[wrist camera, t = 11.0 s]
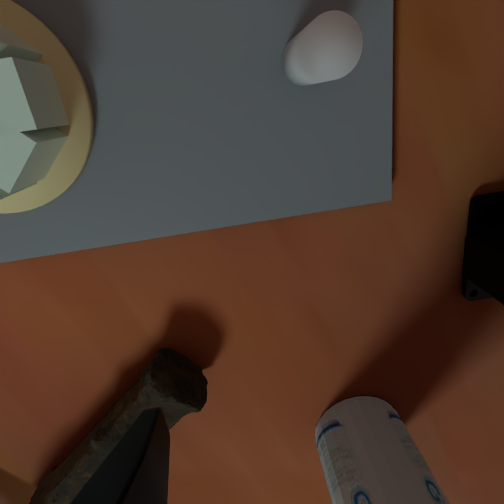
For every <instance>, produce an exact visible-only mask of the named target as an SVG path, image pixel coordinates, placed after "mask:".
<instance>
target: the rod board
mask: <svg viewBox="0 0 504 504" xmlns="http://www.w3.org/2000/svg"><path fill="white" fill-rule="evenodd" d="M0 24H2V25H3V26H4V27H6V28H7V29H8V30H10V31H11V32H13V33H14V34H15V35H17V36H18V37H20V38H21V39H22V40H24V41H25V42H27V43H28V44H29V45H31V46H32V47H34V48H35V49H36V50H38V51H39V52H40V53H42V56H41V58H40V60H39V62H38V63H42V64H46V65H51V67H52V70H53V74H54V77H55V80H56V83H57V86H58V89H59V93H60V96H61V99H62V102H63V105H64V108H65V112H66V115H67V118H68V121H69V124H70V125H64V126H57V127H56V128H58V129H59V130H61V131H62V132H64V133H65V134H67V135H68V138H67V140H66V142H65V143H64V145H63V147H62V149H61V151H60V152H59V154H58V156H57V158H56V159H55V161H54V163H53V165H52V167H51V168H50V170H49V172H48V174H47V175H46V177H45V179H42V180H40V181H38V182H36V183H37V184H35V185H33V186H31V187H28V188H26V189H24V190H21V191H19V192H17V193H15V194H12V195H10V196H8V197H5V198H3V199H1V200H0V263H4V262H10V261H16V260H22V259H29V258H35V257H41V256H47V255H54V254H60V253H66V252H72V251H79V250H85V249H91V248H97V247H103V246H110V245H116V244H122V243H128V242H135V241H141V240H147V239H153V238H160V237H166V236H172V235H178V234H185V233H191V232H197V231H203V230H210V229H216V228H222V227H228V226H234V225H241V224H247V223H253V222H259V221H266V220H272V219H278V218H284V217H291V216H297V215H303V214H309V213H316V212H322V211H328V210H334V209H341V208H347V207H353V206H359V205H365V204H372V203H378V202H384V201H390V200H392V101H393V0H0Z"/></svg>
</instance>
